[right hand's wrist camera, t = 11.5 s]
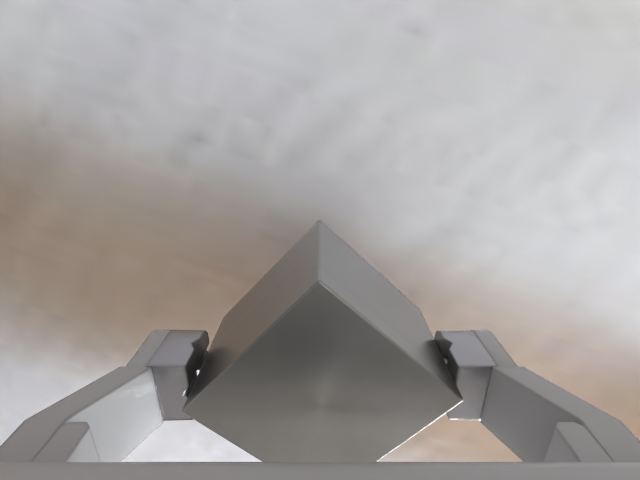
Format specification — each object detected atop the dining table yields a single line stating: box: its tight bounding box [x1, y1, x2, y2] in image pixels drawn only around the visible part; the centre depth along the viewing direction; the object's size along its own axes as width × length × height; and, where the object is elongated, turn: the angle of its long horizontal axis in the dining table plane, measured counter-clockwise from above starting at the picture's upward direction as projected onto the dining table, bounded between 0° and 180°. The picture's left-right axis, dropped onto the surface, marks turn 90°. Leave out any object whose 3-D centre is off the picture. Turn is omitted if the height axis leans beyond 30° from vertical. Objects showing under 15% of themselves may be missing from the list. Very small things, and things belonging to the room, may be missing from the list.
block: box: [182, 220, 463, 462], centre depth 10 cm, size 5×5×4 cm
